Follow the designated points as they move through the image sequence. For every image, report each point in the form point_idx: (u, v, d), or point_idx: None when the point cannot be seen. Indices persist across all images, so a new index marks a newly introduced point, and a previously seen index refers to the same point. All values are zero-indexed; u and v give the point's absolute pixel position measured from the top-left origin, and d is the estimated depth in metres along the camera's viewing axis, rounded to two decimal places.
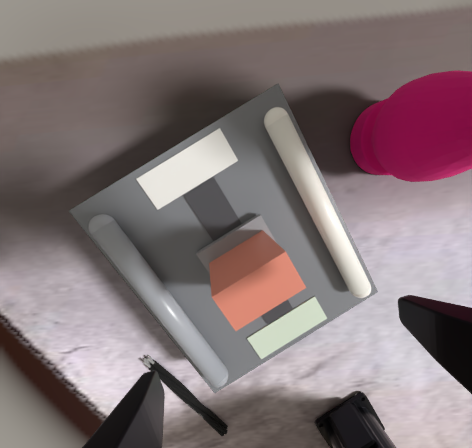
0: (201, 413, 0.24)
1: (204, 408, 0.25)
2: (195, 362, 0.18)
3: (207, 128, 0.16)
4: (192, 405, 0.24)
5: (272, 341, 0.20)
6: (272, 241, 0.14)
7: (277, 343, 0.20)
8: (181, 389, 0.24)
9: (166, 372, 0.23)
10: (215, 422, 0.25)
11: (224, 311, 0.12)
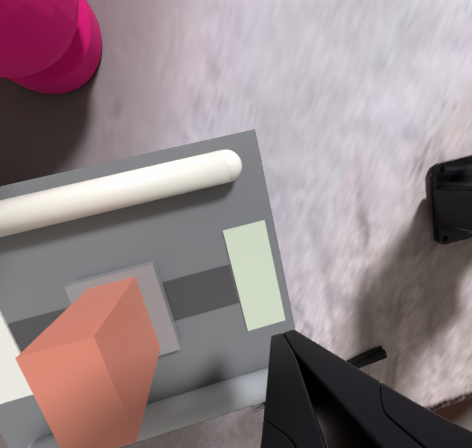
0: None
1: None
2: (239, 409, 0.14)
3: None
4: None
5: (267, 300, 0.14)
6: None
7: (272, 295, 0.14)
8: None
9: None
10: (366, 360, 0.21)
11: None
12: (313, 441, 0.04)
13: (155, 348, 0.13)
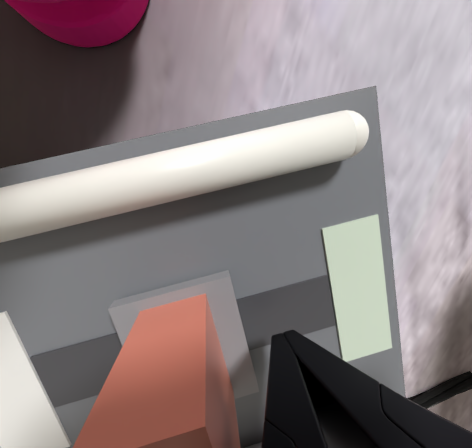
0: (430, 404, 0.17)
1: (426, 396, 0.17)
2: None
3: None
4: None
5: (371, 321, 0.11)
6: (111, 375, 0.06)
7: (378, 316, 0.11)
8: None
9: None
10: (454, 389, 0.17)
11: None
12: (314, 441, 0.04)
13: (231, 393, 0.09)
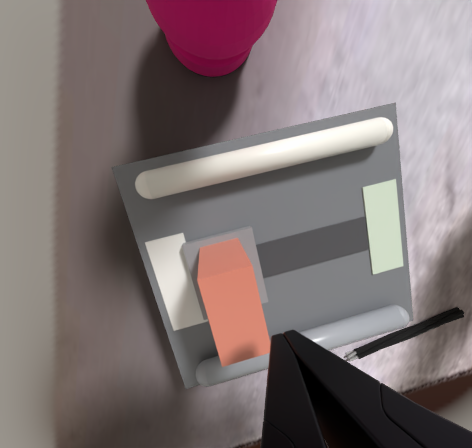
0: (428, 328, 0.23)
1: (425, 323, 0.23)
2: (370, 337, 0.17)
3: (142, 254, 0.15)
4: (415, 333, 0.23)
5: (390, 248, 0.17)
6: (199, 265, 0.12)
7: (395, 244, 0.17)
8: (394, 338, 0.23)
9: (371, 345, 0.23)
10: (446, 318, 0.24)
11: (243, 358, 0.11)
12: (313, 441, 0.04)
13: None
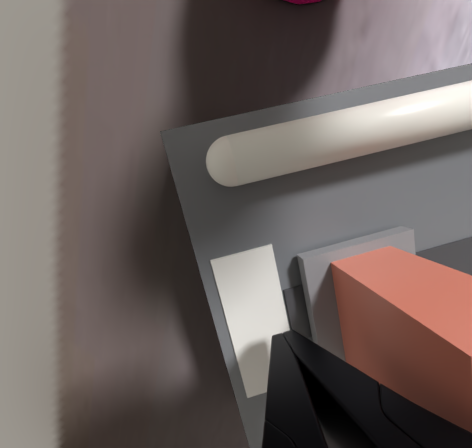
0: None
1: None
2: None
3: (205, 279, 0.09)
4: None
5: None
6: (385, 302, 0.06)
7: None
8: None
9: None
10: None
11: None
12: (314, 441, 0.04)
13: None
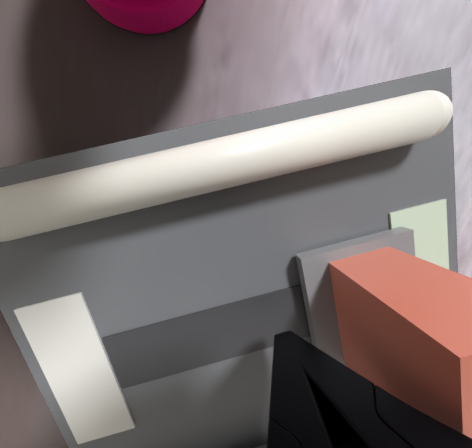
0: None
1: None
2: None
3: (12, 328, 0.09)
4: None
5: None
6: (379, 303, 0.06)
7: None
8: None
9: None
10: None
11: None
12: (319, 439, 0.04)
13: None
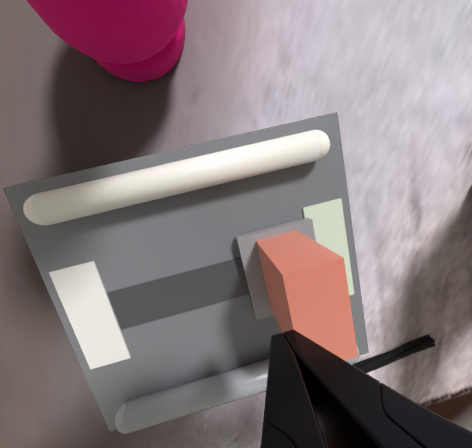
0: (396, 358, 0.22)
1: (393, 353, 0.22)
2: None
3: (47, 285, 0.13)
4: (381, 364, 0.22)
5: None
6: (268, 258, 0.11)
7: None
8: (358, 368, 0.21)
9: None
10: (415, 347, 0.22)
11: None
12: (313, 441, 0.04)
13: None
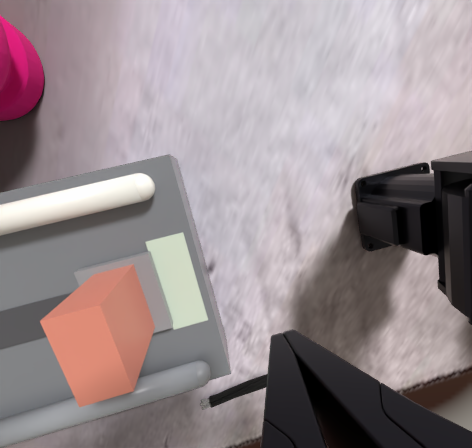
0: None
1: None
2: (163, 398, 0.16)
3: None
4: None
5: (191, 302, 0.16)
6: (68, 298, 0.12)
7: (194, 298, 0.16)
8: (250, 386, 0.22)
9: (225, 393, 0.22)
10: None
11: (102, 398, 0.11)
12: (313, 441, 0.04)
13: (150, 325, 0.15)
